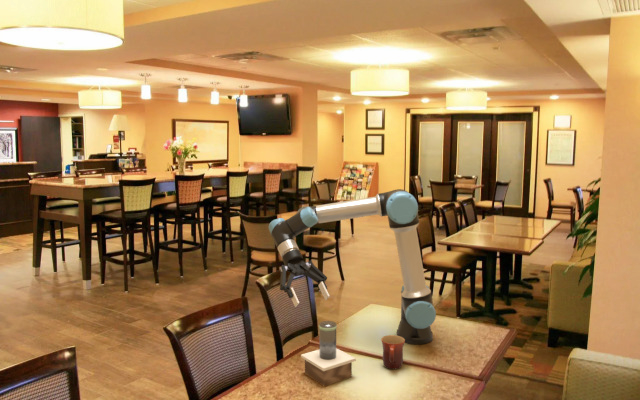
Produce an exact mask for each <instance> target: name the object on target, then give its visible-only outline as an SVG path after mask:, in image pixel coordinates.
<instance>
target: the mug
mask: <svg viewBox="0 0 640 400" xmlns="http://www.w3.org/2000/svg"><path fill="white" fill-rule="evenodd" d="M380 341H381V344H382V363H383V367H385V368H386V369H388V370H389V369H390V370H398V369H400V368H402V367H403V362H404V350H403V349H404V346H405V339H404V338H403V337H400V336H397V334H395V335H394V334H390V335H389V334H388V335H384V336H382V337H381V339H380Z"/></svg>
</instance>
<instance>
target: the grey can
mask: <svg viewBox="0 0 640 400" xmlns="http://www.w3.org/2000/svg"><path fill="white" fill-rule="evenodd" d="M318 330H319V331H318V332H319V336H318V337H319V339H318V340H319V345H318V346H319V347H318V348H319V349H318V350H319V355H320V358H321V359H324V360H332V359H335V358H336V348H337V322H335V321H333V320H324V321H320V322H319V324H318Z"/></svg>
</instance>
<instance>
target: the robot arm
mask: <svg viewBox="0 0 640 400" xmlns="http://www.w3.org/2000/svg"><path fill="white" fill-rule="evenodd" d="M418 212H419V204H418V202H417V199H416V198H415V196H414V195H413V194H411V193H409V191H408V190H405V189H401V188H400V189H399V188H397V189H393V190H389V191H385V192H380V193H376V195H375V196H370V197H365V198H358V199H351V200H344V201H339V202H338V201H337V202H332V203H325V204H320V205H314V206H307V205H306V206H302V207H300V208H299V209H298V210H297V212H296V213H295V214H294V215H292V216H290V217H289V218H288V219H287V218H286V219H285V218H282V217H279V218H276V219H273V220H271V222H270V223H269V225H268V231H269V234H270V237H271V238H272V240H273V242H274V244H275V246H276V248H277V251H278V254H279V255H280V257H281V260H282V262H283V264H282V265H281V266H280V268H279V272H280V280H279V281H280V282H279V291H281V292H282V291H283V292H284V293H286V294H287V296H288V298H289V299H291V301H292V303H293V306H294V307H295V308H297V307H298V305H299V304H300V301H299V299H298V296H297V294H296V291H295V290H294V287H291V285H292V282H293V279H294V277H298V276H302V275H303V276H306V277H308V278H309V279H311V280H312V281H314V282H316V283H317V284H318V288H319V291H320V292H321V295H322V296H323V299H324V300H325V301H327V300H328V299H329V298H330V296H331V295H330V293H329V292H328V286H327V285H326V281H327V280H328V277H327V275H325V274H324V273H323V272H322V271H321V270H320V269H319V268H318V267H316V265H315V264H314V263H313V261H312V260H308V262H305V260H304V257H303V254H302V253H301V250H300V248H299V246H298V244H297V242H296V240H295V237H297V236H298V235H301V233H303V232H305V231H307V230H308V229H309V228H312V227H313V226H315V225H318V224H323V223H330V222H331V223H332V222H337V221H343V220H344V221H345V220H350V219H356V218H357V219H358V218H364V217H371V216H379V217H386V216H387V220H388V226H389V229H390V230H392V231H393V232H394V237H395V244H396V248H397V254H398V260H399V267H400V271H401V278H402V282H403V283H402V284H403V285H402V286H401V289H400V294H401V296H400V297H401V299H400V302H401V303H400V305H401V306H400V307H401V308H400V309H401V311H400V321H399V324H398V327H397V328H398V329H396V336H400V337H403V338H404V339H405V343H406V344H411V345H425V344H428V343H431V342H432V341H433V337H434V336H433V335H434V334H433V331H432V327H431V325H432V324H434V322H435V321H436V318H437V310H436V308H435V306H434V302H433V296H432V289H430V286H428V285H427V283H426V279H425V277H426V276H425V272H424V266H423V261H422V254H421V248H420V242H419V237H418V236H419V235H418V230H417V227H419V225H420V220H419V213H418ZM287 272H289V275H288V279H287V280H286V278H287ZM286 281H287V282H286ZM405 343H404V344H405Z"/></svg>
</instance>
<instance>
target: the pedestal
mask: <svg viewBox="0 0 640 400" xmlns="http://www.w3.org/2000/svg"><path fill="white" fill-rule="evenodd" d="M300 358H301V359H303V360H304V374H305V376H308V377H310V378H311V379H313V380H314V381H315V382H318V384H320V385H322V386H323V385H324V386H323V387H327V386H329V385H332V384H335V383H338V382H341V381H344V380H347V379H349V378H352V377H353V376H352V375H353V374H352V370H353V369H352V368H353V367H352V366H353V365H352V364H353V363H354V362H356V360H357V359H356V357H354V356H353V355H350V354H349V353H346V352H345V351H343V350H340V349H339V348H337V347H336V358H335V359H332V360H324V359H321V358H320V355H319V349H315V350H313V351H309V352H306V353H303V354H300Z"/></svg>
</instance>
